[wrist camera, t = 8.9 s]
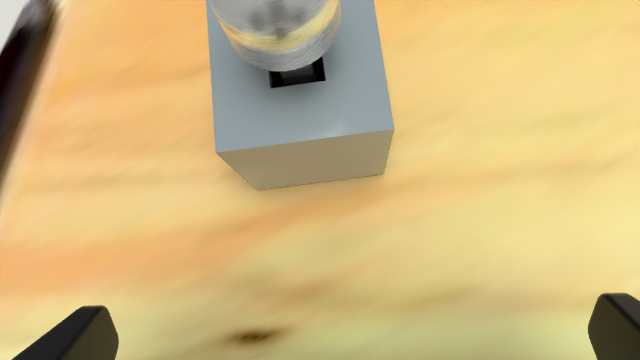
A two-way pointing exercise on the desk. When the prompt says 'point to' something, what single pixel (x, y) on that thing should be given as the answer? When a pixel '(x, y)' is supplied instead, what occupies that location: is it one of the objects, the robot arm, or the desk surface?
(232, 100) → the gray square socket cube
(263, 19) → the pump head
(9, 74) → the desk surface
